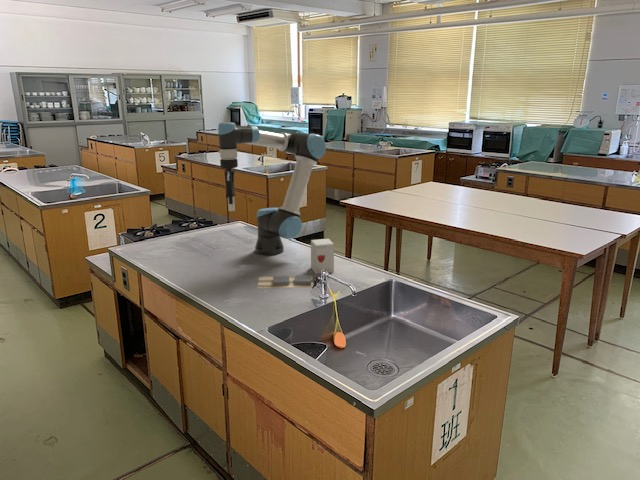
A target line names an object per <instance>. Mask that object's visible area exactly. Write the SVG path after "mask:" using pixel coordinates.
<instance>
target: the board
mask: <svg viewBox="0 0 640 480" xmlns="http://www.w3.org/2000/svg"><path fill="white" fill-rule="evenodd" d="M303 275H304V274H303ZM303 275H301V274H300V276H303ZM273 276H274V275H273ZM273 276H272V275H270V276H267V275H266V276H264V275H263V276H259V277H258V282H257V289H292V288H314V287H313V285H314V278H313V275H312V274H311V284H306V285H295V276H296V275H288V276H289V285H274V286H273Z"/></svg>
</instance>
